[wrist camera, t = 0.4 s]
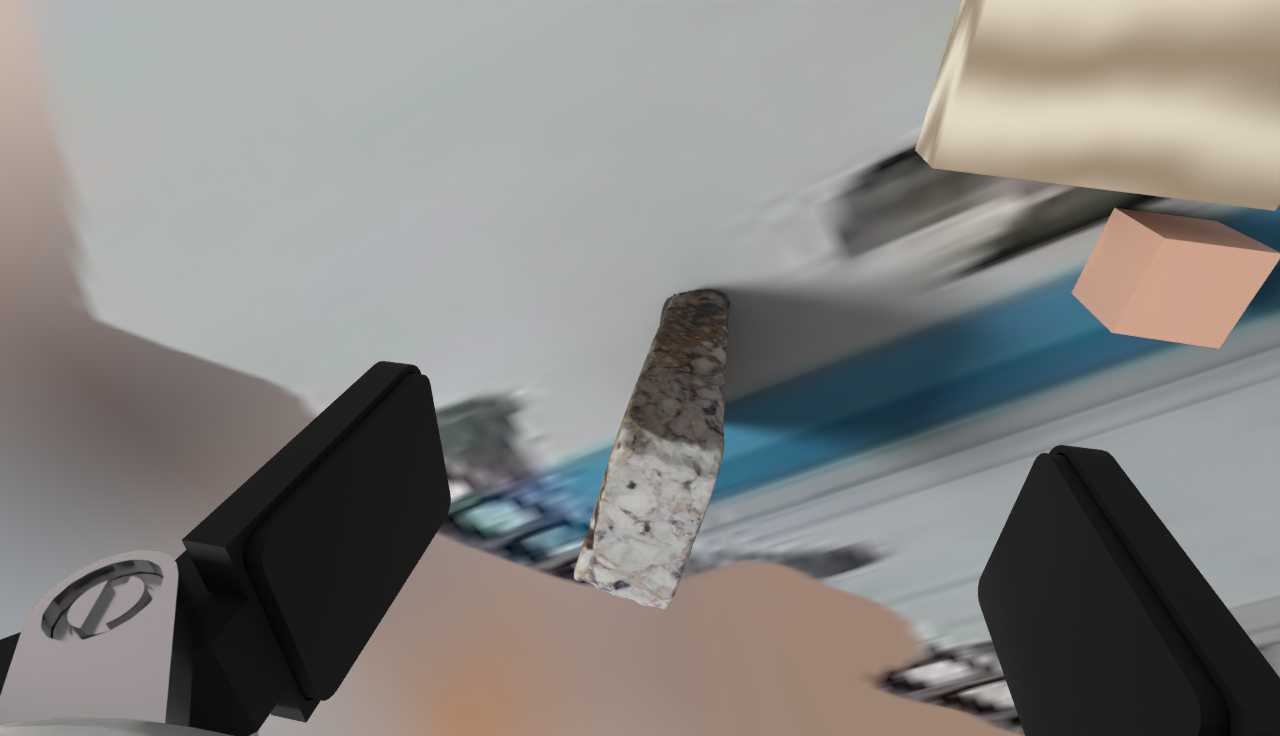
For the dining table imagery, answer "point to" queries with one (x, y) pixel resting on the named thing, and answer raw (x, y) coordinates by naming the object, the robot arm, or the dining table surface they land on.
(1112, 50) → the ash base block
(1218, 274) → the terracotta cube
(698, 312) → the stone block
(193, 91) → the dining table surface
